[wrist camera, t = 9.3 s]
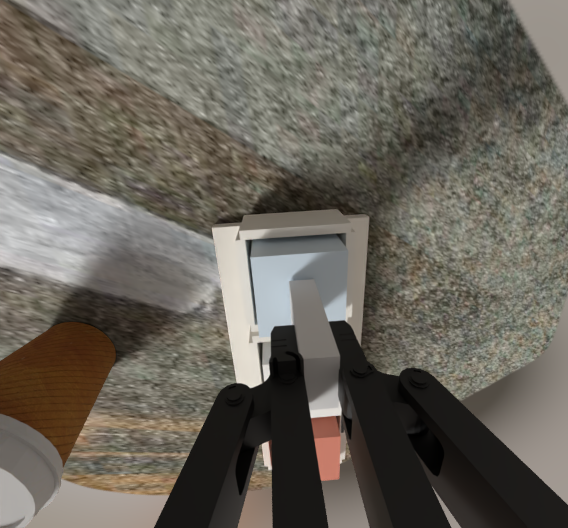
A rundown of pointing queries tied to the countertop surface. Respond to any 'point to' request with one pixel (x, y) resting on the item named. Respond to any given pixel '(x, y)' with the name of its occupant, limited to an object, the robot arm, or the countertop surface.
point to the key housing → (240, 291)
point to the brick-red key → (327, 446)
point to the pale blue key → (297, 276)
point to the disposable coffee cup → (46, 413)
